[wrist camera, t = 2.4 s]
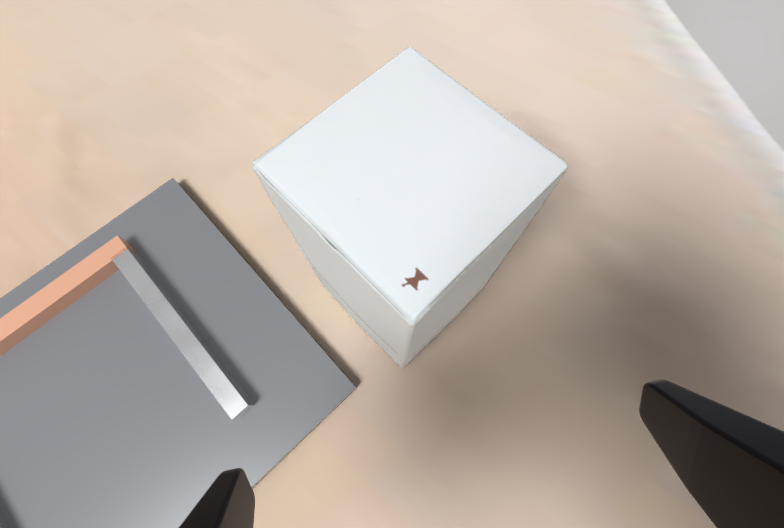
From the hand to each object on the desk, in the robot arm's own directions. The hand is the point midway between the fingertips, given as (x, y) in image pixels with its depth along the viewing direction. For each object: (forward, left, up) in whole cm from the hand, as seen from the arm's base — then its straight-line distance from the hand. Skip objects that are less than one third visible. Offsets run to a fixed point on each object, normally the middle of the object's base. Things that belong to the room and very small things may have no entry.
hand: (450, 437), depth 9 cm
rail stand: (+17, -5, -13) cm, 22 cm away
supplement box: (-1, -8, -14) cm, 16 cm away
